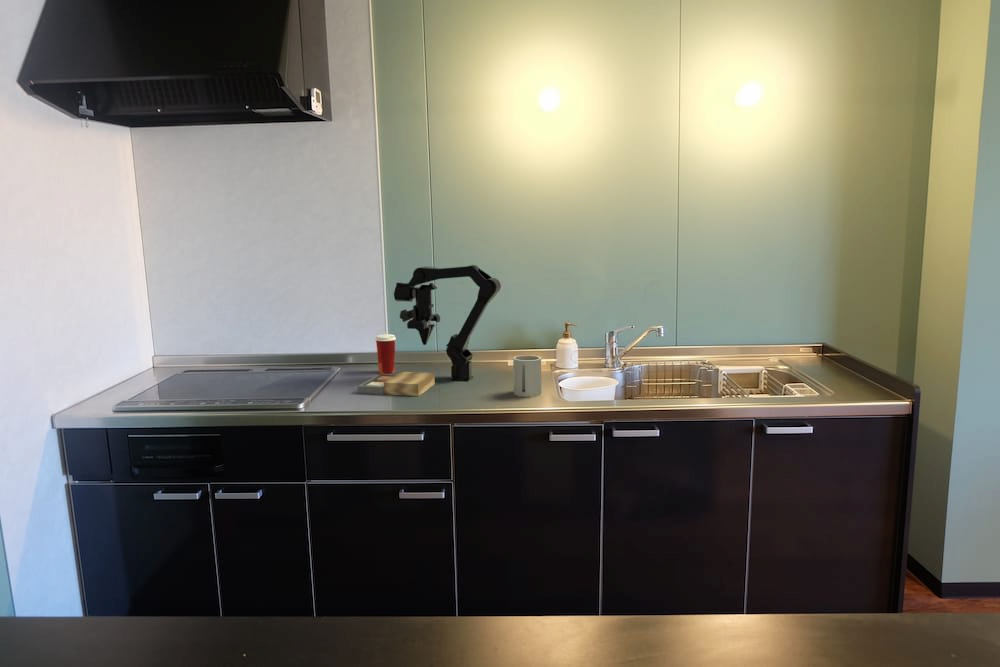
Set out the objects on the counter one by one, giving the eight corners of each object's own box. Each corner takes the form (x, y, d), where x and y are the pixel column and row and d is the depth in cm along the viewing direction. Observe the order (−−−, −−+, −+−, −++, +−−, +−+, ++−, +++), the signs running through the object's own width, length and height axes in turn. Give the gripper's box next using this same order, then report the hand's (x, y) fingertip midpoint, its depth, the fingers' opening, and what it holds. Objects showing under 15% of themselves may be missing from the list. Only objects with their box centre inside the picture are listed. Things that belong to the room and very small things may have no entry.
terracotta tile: (381, 376, 242) (382, 381, 243) (376, 379, 238) (376, 384, 238) (393, 376, 241) (393, 382, 242) (388, 379, 237) (389, 385, 237)
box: (403, 381, 244) (403, 375, 243) (383, 394, 226) (382, 387, 226) (380, 380, 246) (379, 373, 245) (358, 393, 228) (357, 385, 228)
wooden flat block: (434, 384, 240) (434, 373, 239) (418, 396, 224) (418, 384, 224) (402, 382, 243) (402, 371, 242) (384, 394, 227) (383, 382, 227)
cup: (537, 389, 232) (537, 354, 230) (543, 396, 223) (543, 360, 221) (511, 390, 231) (510, 355, 229) (516, 397, 222) (516, 361, 220)
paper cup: (401, 371, 261) (399, 334, 258) (389, 375, 254) (388, 338, 251) (383, 369, 264) (382, 333, 262) (372, 373, 257) (370, 336, 255)
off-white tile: (372, 381, 234) (372, 387, 234) (366, 384, 230) (366, 390, 230) (384, 382, 233) (384, 388, 233) (378, 385, 229) (379, 391, 229)
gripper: (411, 298, 257) (413, 339, 260) (392, 304, 239) (393, 348, 242) (440, 299, 254) (441, 340, 257) (422, 305, 237) (423, 349, 239)
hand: (424, 344), depth 249 cm, fingers closed
